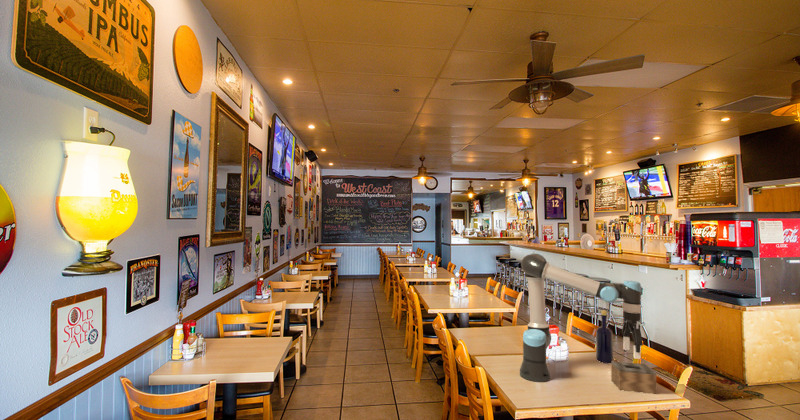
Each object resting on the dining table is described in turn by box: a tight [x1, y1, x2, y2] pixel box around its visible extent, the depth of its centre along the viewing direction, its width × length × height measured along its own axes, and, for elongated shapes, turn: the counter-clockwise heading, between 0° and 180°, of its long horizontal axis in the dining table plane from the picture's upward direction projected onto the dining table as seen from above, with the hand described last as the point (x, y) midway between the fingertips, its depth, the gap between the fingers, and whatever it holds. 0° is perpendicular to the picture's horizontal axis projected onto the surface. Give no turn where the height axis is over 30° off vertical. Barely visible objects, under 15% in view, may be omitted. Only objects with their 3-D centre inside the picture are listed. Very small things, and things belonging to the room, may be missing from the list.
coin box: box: [610, 360, 657, 395], centre depth 184 cm, size 16×12×10 cm
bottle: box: [595, 310, 614, 364], centre depth 222 cm, size 9×9×30 cm
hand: (631, 354), depth 185 cm, fingers open, 13 cm apart
